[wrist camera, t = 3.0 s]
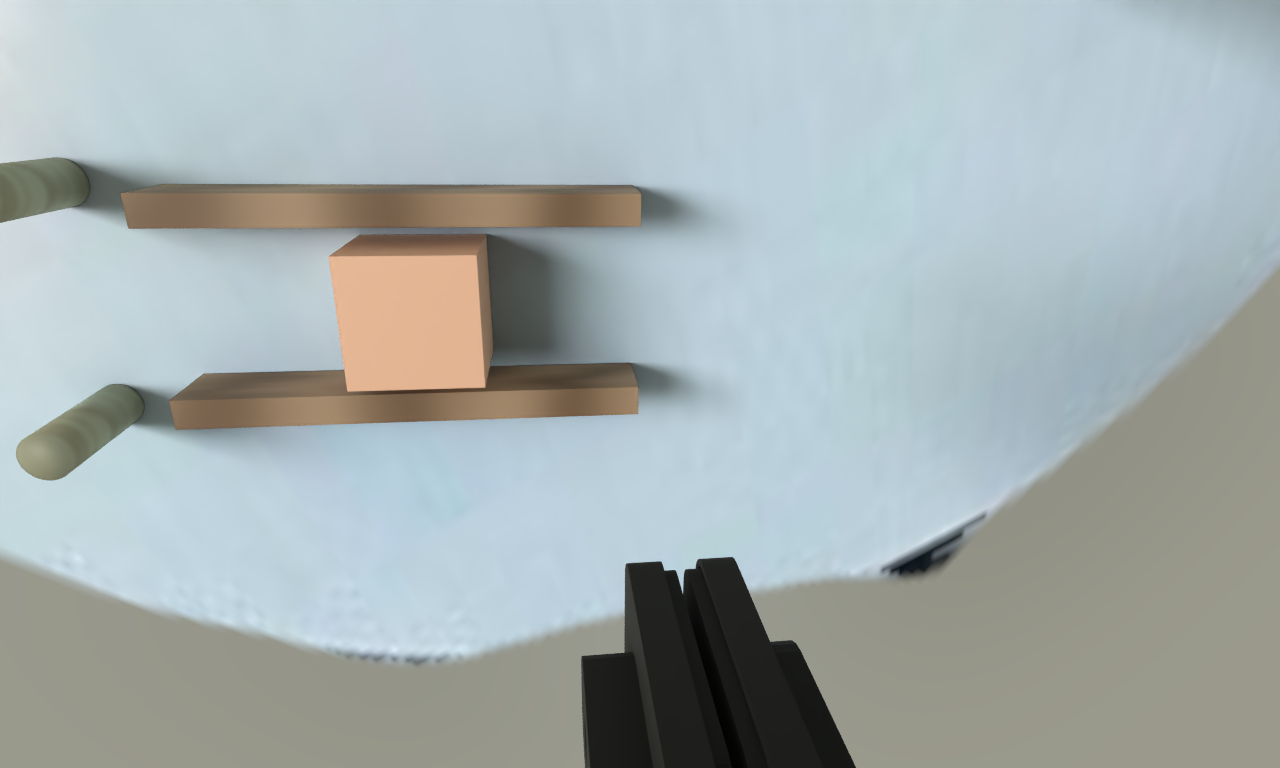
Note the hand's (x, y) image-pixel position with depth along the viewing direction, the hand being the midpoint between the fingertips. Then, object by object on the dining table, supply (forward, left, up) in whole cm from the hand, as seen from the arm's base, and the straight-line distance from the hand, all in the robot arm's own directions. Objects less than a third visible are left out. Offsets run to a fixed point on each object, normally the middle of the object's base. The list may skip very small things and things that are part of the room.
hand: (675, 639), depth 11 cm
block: (+7, 0, -22) cm, 23 cm away
